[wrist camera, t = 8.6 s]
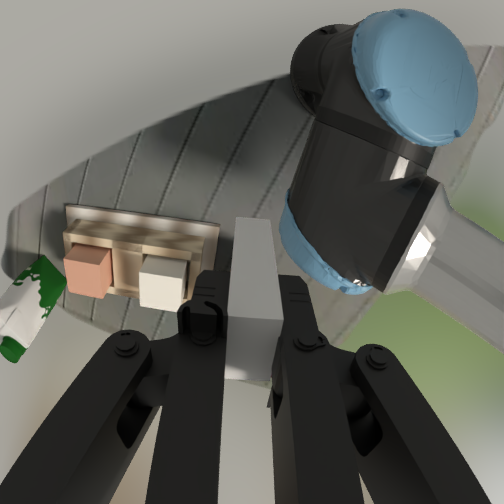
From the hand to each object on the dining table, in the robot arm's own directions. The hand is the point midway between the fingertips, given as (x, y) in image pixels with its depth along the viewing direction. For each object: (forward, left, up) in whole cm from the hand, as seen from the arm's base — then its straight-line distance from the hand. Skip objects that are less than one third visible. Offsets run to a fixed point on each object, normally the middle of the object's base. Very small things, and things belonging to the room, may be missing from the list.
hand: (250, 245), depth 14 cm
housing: (+14, +21, -31) cm, 40 cm away
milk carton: (+34, +30, -31) cm, 55 cm away
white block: (+8, +21, -28) cm, 36 cm away
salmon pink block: (+20, +21, -28) cm, 40 cm away
